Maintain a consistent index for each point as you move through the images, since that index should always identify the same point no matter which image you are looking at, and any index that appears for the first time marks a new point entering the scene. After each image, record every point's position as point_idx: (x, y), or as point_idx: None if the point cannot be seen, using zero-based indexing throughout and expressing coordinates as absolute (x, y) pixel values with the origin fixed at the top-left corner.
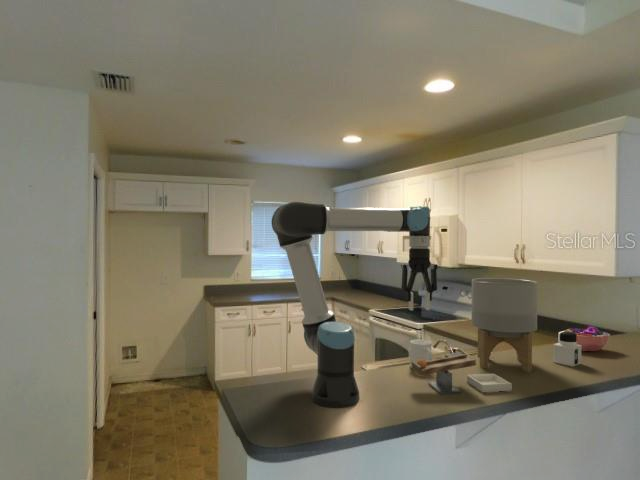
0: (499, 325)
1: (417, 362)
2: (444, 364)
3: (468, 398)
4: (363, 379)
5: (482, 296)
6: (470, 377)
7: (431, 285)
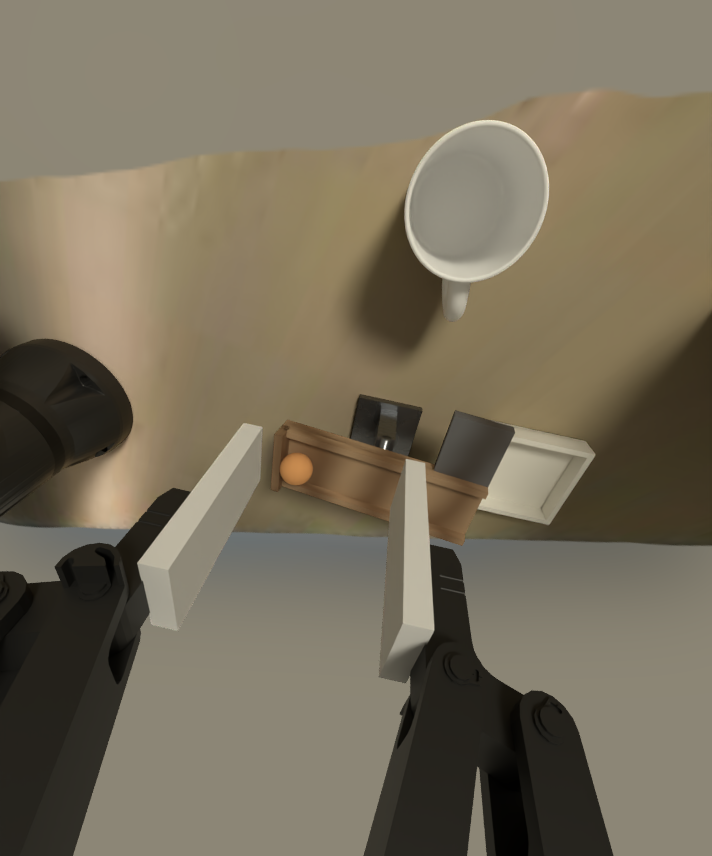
0: None
1: (280, 466)
2: (376, 484)
3: None
4: (165, 277)
5: None
6: None
7: (530, 792)
